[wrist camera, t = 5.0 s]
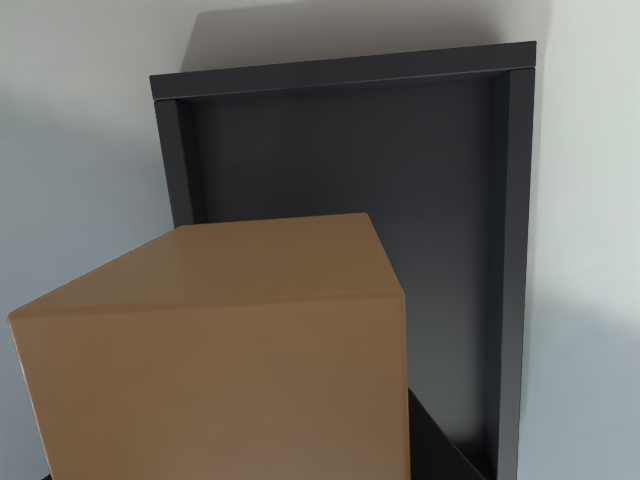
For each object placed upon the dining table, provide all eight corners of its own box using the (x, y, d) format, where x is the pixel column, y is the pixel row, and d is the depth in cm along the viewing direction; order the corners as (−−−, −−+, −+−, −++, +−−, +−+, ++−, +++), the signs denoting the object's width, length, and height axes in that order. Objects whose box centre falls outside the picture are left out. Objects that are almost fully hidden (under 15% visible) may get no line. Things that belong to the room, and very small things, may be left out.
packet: (384, 530, 11) (422, 835, 6) (229, 533, 11) (147, 829, 6) (368, 211, 9) (405, 290, 4) (178, 224, 9) (1, 313, 4)
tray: (496, 460, 18) (516, 499, 16) (231, 468, 19) (218, 507, 17) (509, 55, 14) (537, 40, 12) (173, 85, 15) (148, 75, 13)
